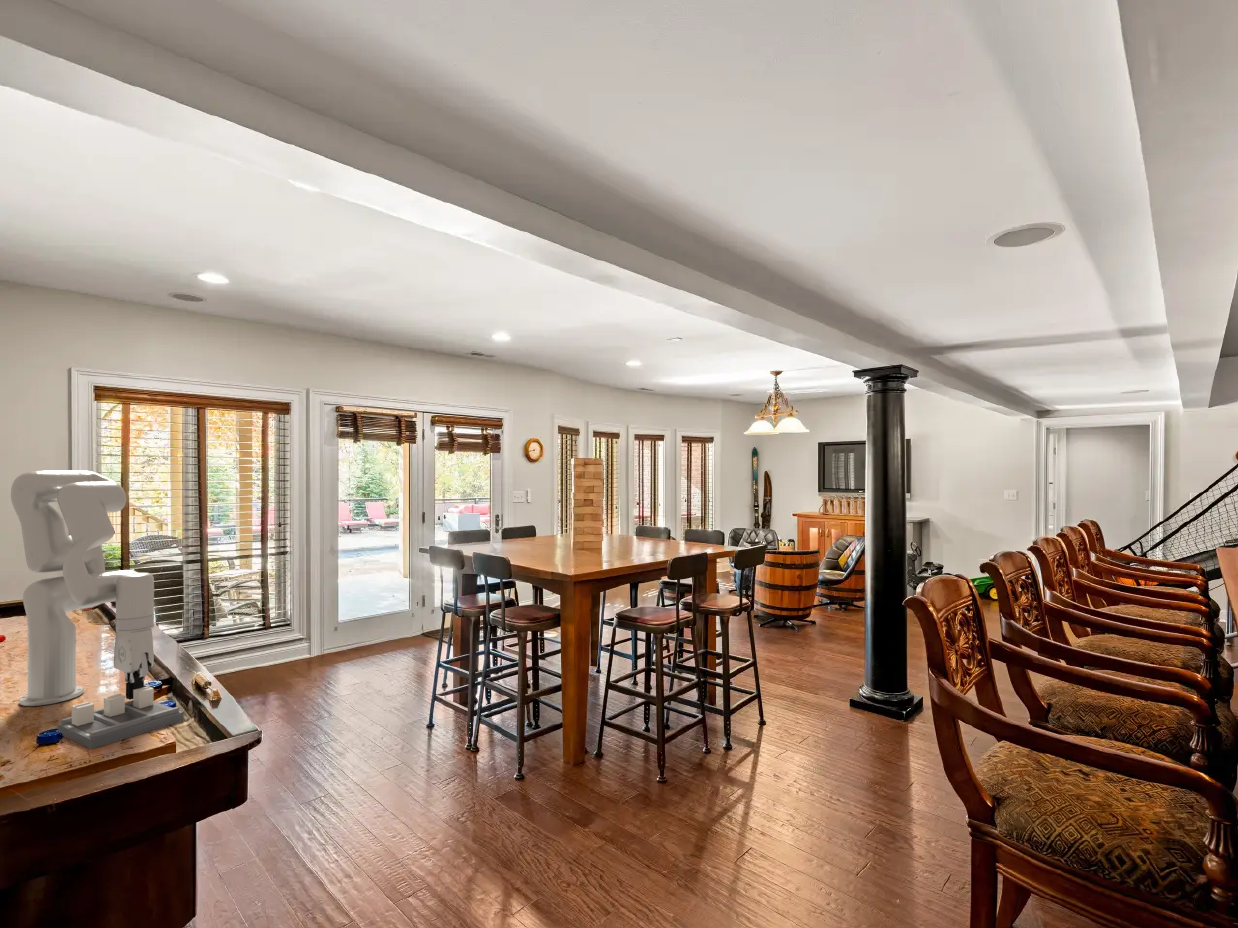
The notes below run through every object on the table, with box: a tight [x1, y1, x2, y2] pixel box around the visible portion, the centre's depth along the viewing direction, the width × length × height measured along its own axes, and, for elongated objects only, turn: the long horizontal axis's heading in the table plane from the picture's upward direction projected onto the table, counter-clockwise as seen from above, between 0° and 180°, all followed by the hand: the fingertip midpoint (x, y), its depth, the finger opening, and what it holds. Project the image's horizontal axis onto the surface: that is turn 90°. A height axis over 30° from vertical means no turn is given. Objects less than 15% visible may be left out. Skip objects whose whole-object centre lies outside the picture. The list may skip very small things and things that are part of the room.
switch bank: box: [57, 699, 185, 750], centre depth 147 cm, size 17×18×3 cm
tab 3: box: [132, 685, 154, 709], centre depth 154 cm, size 3×3×4 cm
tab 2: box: [103, 693, 126, 717], centre depth 149 cm, size 3×3×4 cm
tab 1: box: [71, 701, 95, 726], centre depth 144 cm, size 3×3×4 cm
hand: (134, 697), depth 157 cm, fingers closed
